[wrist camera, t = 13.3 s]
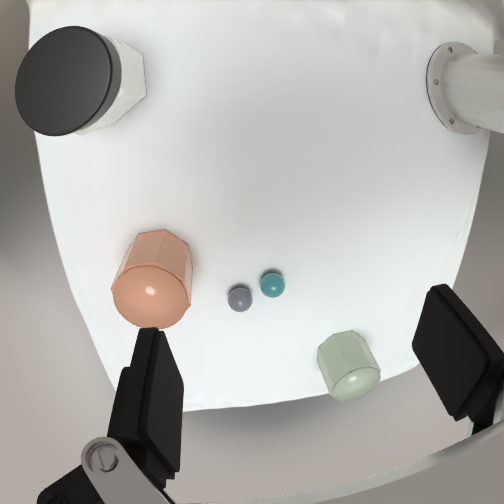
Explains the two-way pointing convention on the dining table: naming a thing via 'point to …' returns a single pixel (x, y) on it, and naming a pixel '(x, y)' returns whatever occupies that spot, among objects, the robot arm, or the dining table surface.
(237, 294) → the marble
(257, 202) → the dining table surface
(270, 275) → the marble
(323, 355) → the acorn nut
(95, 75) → the jar
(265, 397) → the dining table surface
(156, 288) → the peach octagonal canister
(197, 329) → the dining table surface
